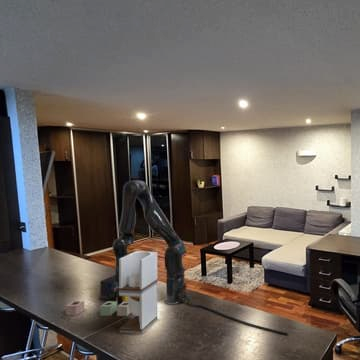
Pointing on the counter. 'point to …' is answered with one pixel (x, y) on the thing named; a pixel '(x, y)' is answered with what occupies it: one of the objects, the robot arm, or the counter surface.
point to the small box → (107, 288)
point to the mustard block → (125, 298)
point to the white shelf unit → (139, 289)
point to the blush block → (75, 308)
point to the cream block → (123, 309)
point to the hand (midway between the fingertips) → (123, 300)
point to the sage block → (108, 308)
